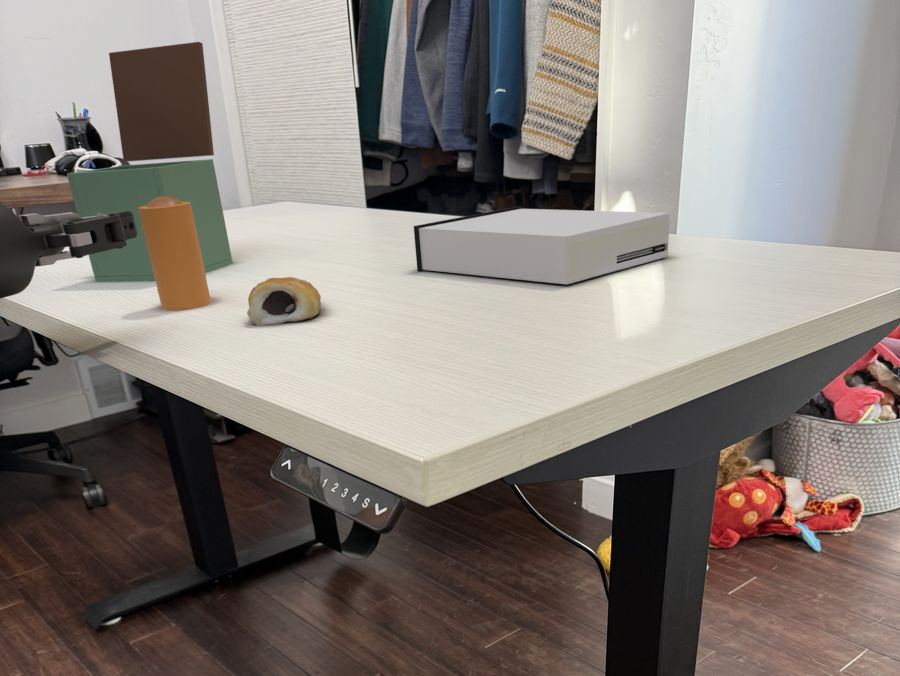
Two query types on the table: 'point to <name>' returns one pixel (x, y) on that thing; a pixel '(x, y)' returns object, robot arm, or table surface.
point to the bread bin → (138, 189)
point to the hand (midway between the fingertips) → (93, 225)
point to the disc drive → (542, 243)
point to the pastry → (283, 301)
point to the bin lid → (162, 102)
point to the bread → (175, 254)
